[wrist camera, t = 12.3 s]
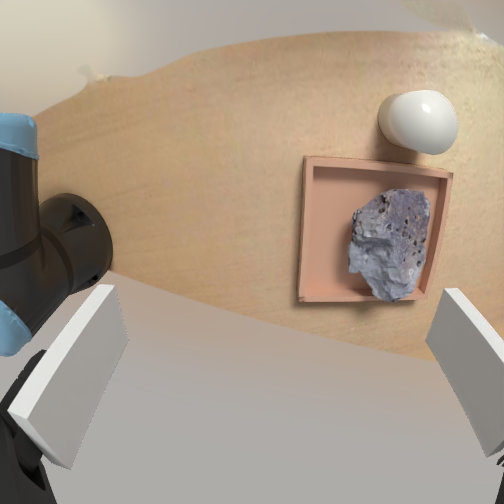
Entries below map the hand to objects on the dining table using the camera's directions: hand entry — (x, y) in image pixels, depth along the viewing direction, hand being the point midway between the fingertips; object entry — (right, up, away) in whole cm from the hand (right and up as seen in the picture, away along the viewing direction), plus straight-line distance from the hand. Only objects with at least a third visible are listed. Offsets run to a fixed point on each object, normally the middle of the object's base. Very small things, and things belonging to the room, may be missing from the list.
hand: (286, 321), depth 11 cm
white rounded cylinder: (+18, +19, +22) cm, 34 cm away
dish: (+15, +6, +28) cm, 32 cm away
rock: (+15, +5, +27) cm, 32 cm away
